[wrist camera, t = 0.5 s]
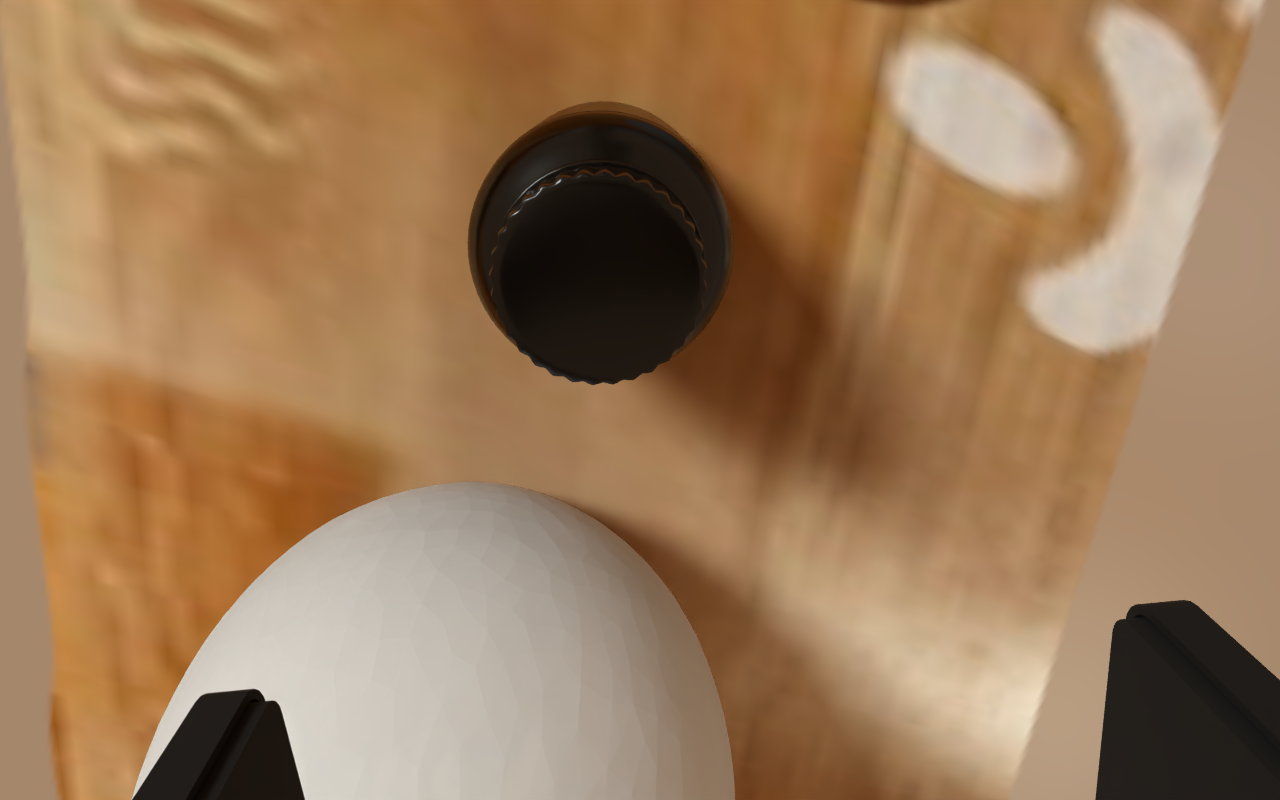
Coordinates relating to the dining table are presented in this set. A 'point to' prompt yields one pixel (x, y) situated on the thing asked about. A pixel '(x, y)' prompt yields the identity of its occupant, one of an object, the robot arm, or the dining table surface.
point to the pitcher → (471, 658)
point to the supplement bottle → (600, 243)
